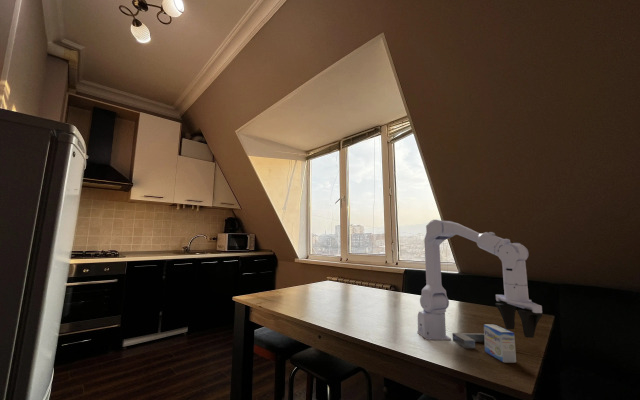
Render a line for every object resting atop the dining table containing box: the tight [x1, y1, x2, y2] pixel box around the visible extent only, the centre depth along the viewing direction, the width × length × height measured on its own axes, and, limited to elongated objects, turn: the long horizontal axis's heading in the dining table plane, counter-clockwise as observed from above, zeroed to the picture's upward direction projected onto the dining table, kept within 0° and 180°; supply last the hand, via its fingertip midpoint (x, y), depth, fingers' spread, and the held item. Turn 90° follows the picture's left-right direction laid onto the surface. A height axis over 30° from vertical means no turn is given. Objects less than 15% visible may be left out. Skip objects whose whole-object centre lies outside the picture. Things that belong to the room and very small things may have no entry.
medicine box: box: [483, 323, 517, 364], centre depth 83 cm, size 8×4×9 cm, turn 5°
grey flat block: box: [452, 332, 485, 349], centre depth 92 cm, size 15×7×2 cm, turn 93°
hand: (519, 332), depth 75 cm, fingers open, 6 cm apart
